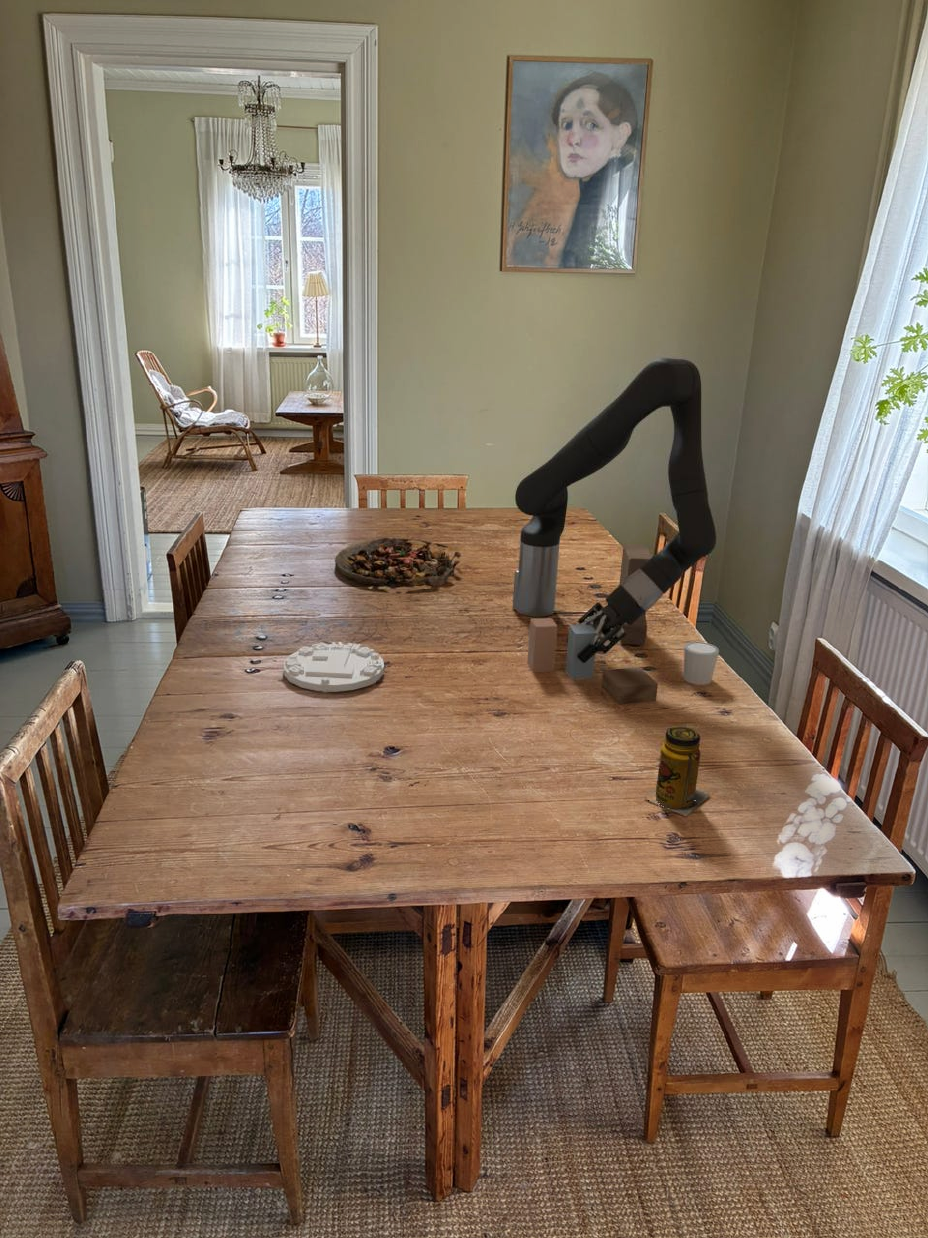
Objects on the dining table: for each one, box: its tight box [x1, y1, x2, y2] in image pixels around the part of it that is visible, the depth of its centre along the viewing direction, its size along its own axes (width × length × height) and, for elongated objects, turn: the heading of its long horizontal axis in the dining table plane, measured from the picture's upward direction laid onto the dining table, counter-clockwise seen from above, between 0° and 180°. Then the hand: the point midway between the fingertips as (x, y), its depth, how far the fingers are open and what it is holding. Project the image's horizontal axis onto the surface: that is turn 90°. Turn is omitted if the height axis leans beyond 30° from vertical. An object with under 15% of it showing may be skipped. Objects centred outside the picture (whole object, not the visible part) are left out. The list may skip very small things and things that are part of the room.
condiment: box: [644, 725, 711, 818], centre depth 148 cm, size 7×8×12 cm
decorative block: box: [618, 544, 654, 646], centre depth 210 cm, size 11×6×20 cm, turn 177°
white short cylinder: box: [682, 641, 720, 686], centre depth 192 cm, size 7×7×7 cm
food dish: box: [334, 537, 462, 588], centre depth 251 cm, size 35×33×8 cm
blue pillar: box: [565, 624, 596, 680], centre depth 191 cm, size 4×4×10 cm
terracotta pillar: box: [527, 617, 558, 673], centre depth 194 cm, size 4×4×10 cm
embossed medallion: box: [283, 641, 385, 694], centre depth 189 cm, size 20×20×3 cm
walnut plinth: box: [600, 666, 659, 706], centre depth 185 cm, size 8×8×4 cm
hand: (574, 651), depth 191 cm, fingers open, 7 cm apart
